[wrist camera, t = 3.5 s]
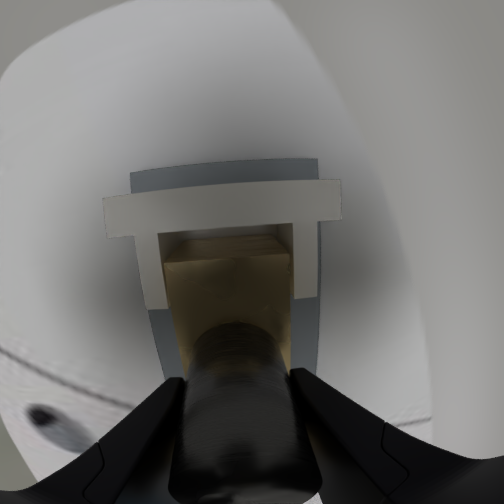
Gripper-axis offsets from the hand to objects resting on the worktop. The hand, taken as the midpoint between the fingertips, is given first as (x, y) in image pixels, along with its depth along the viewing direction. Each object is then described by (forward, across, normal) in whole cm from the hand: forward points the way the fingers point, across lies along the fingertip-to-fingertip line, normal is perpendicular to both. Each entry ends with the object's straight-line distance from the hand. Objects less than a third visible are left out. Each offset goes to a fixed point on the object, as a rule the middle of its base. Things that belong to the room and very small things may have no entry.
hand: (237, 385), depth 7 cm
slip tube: (+5, 0, +3) cm, 6 cm away
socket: (+8, 0, -4) cm, 8 cm away
